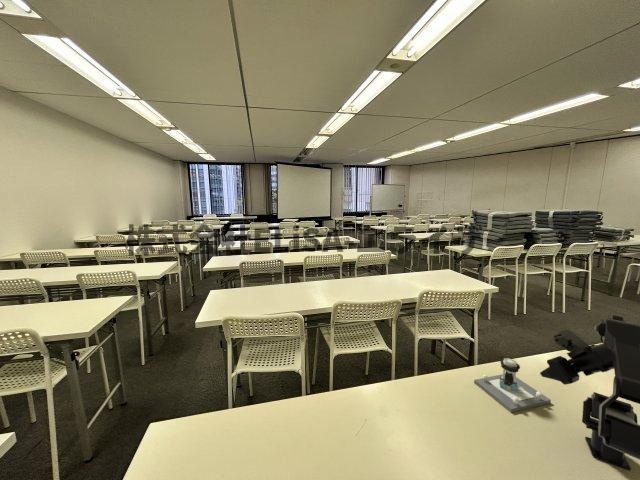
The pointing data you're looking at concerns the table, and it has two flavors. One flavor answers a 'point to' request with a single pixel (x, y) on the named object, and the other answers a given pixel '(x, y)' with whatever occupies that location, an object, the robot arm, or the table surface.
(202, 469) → the table surface
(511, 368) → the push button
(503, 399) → the mounting base
